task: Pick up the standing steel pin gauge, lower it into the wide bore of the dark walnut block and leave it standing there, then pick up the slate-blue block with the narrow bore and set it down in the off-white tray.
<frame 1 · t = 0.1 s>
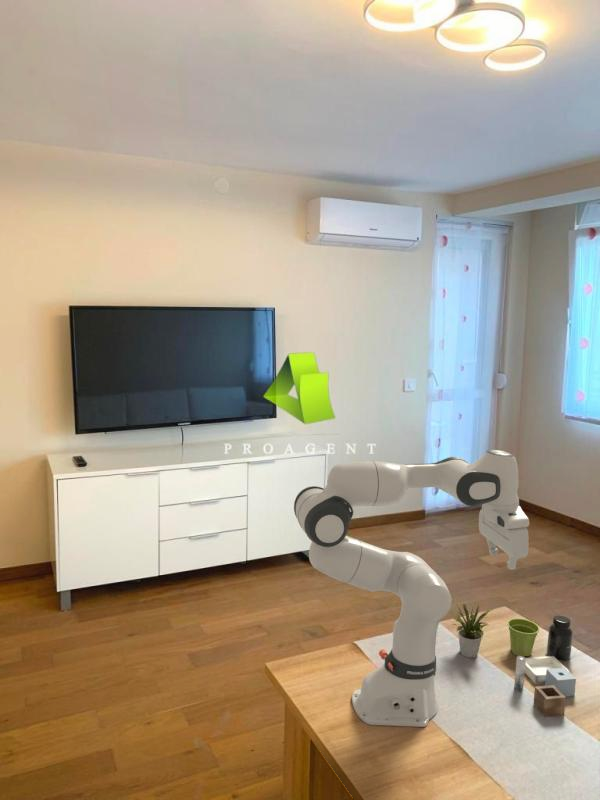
hand: (502, 561, 167), 39 cm above the table, tool pointing down, fingers open, 8 cm apart
supplement bottle: (558, 656, 195), on the table
house plant: (464, 652, 195), on the table
plant pot: (521, 652, 197), on the table
off-white tray: (544, 673, 185), on the table
walnut block: (548, 709, 168), on the table
slate-blue block: (559, 690, 177), on the table
pin gauge: (518, 688, 177), on the table
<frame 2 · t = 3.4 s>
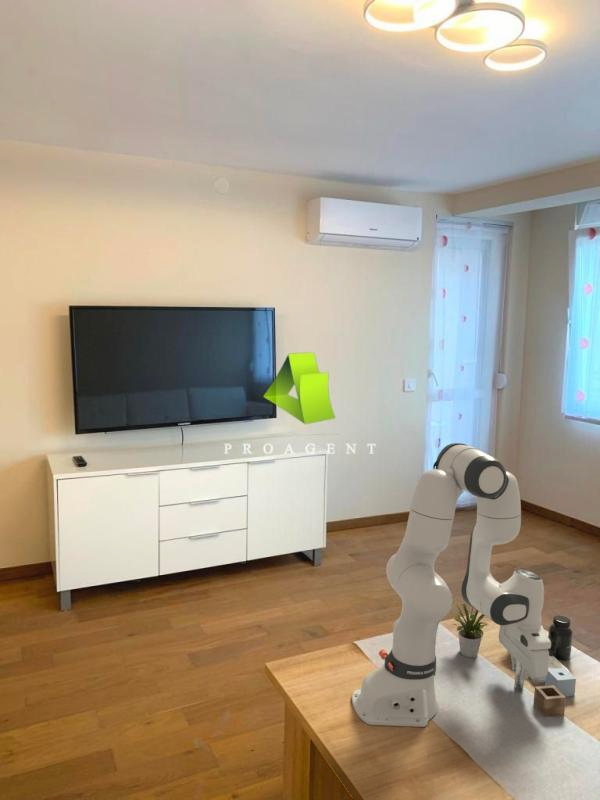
hand: (519, 674, 176), 4 cm above the table, tool pointing down, fingers closed on pin gauge, 2 cm apart
pin gauge: (518, 688, 177), on the table, touching gripper
everything else where it was.
when the fingers open (6 cm above the table, at t = 8.0 s): pin gauge drops 2 cm, resting in walnut block.
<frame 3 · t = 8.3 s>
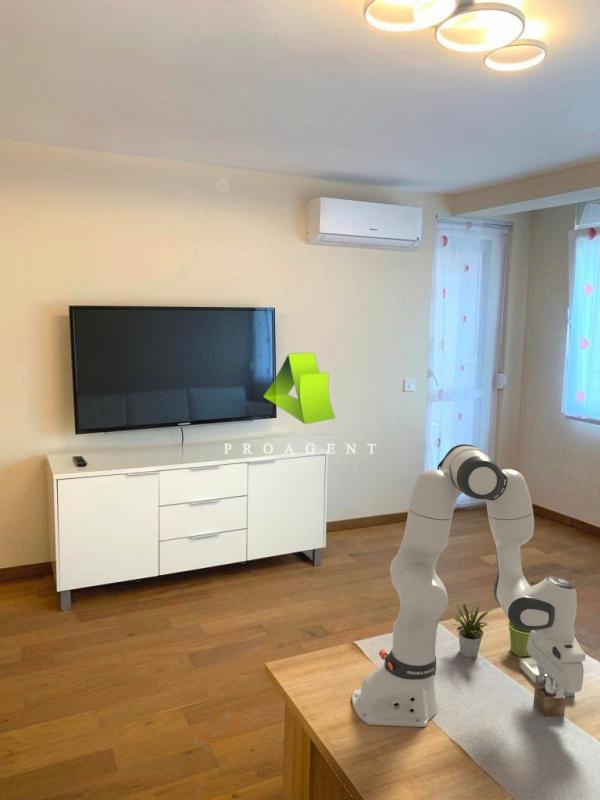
hand: (550, 688, 167), 6 cm above the table, tool pointing down, fingers open, 6 cm apart
pin gauge: (548, 709, 168), resting in walnut block
everything else where it was.
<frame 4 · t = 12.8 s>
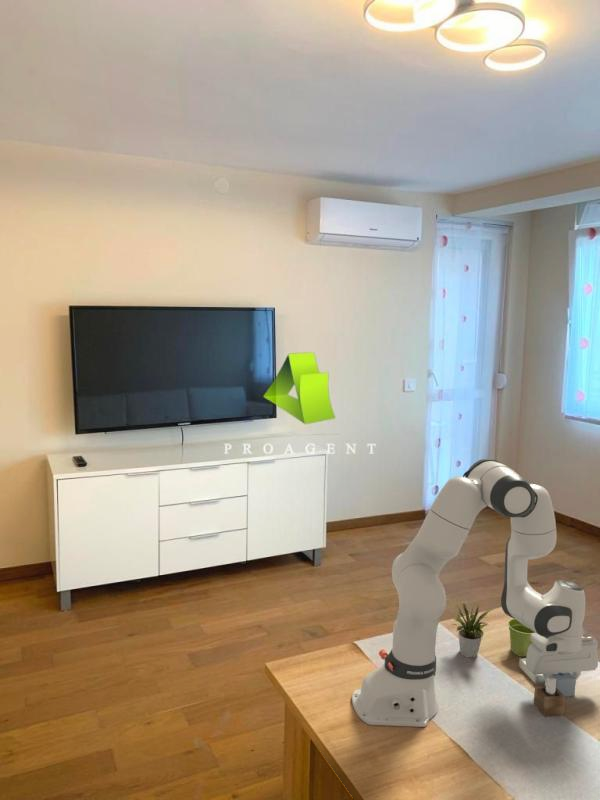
hand: (560, 685, 176), 2 cm above the table, tool pointing down, fingers closed on slate-blue block, 5 cm apart
slate-blue block: (559, 690, 177), on the table, touching gripper
everything else where it was.
when the fingers open (4 cm above the table, at t = 18.0 s): slate-blue block drops 2 cm, resting on off-white tray.
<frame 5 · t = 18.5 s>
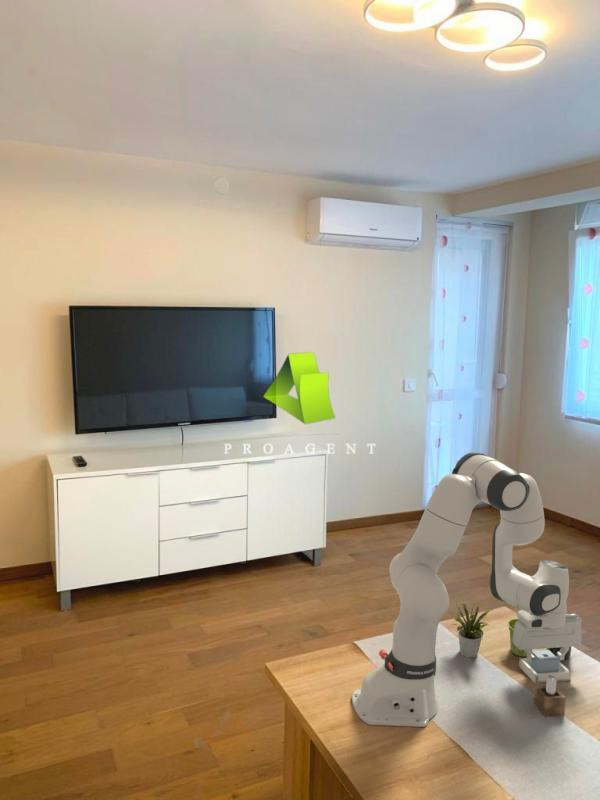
hand: (545, 660, 184), 4 cm above the table, tool pointing down, fingers open, 8 cm apart
slate-blue block: (544, 671, 185), point 1 cm above the table, touching off-white tray
everything else where it was.
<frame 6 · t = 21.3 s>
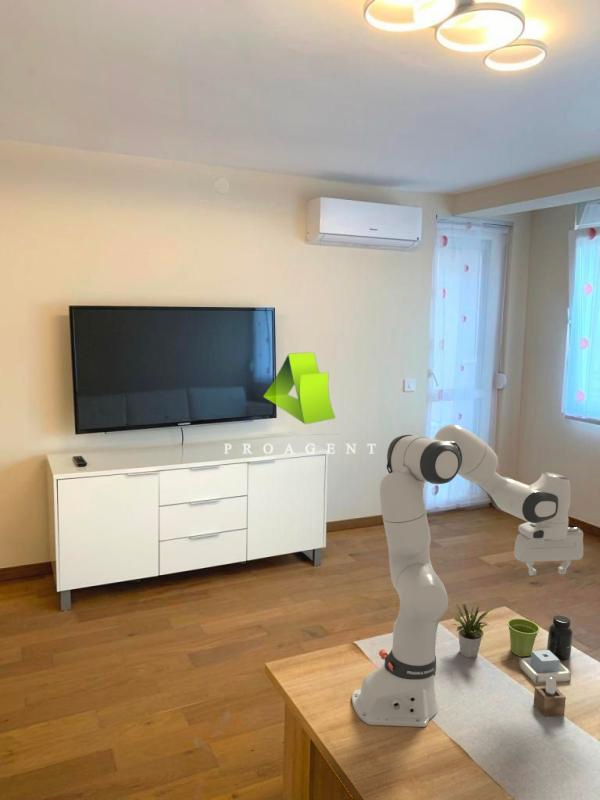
hand: (547, 574, 184), 29 cm above the table, tool pointing down, fingers open, 8 cm apart
nothing on the table moved.
at the end: slate-blue block inside the target area on the off-white tray (0.1 cm from its centre), point 0.6 cm above the off-white tray's base; pin gauge 0.1 cm off-centre on the walnut block, point 0.0 cm above the walnut block's base; the gripper is holding nothing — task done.
